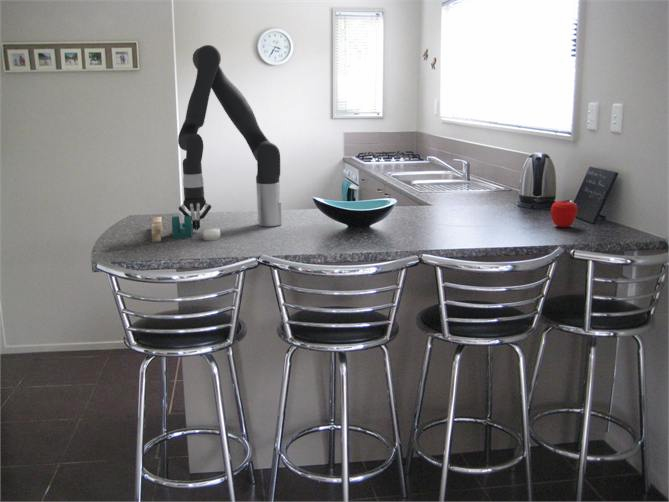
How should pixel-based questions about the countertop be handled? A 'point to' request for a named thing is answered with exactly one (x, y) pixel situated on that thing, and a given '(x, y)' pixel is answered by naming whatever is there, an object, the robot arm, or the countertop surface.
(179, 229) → the bracket
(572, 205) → the apple
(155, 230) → the batten
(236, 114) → the robot arm
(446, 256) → the countertop surface
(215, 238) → the rounded smooth part
